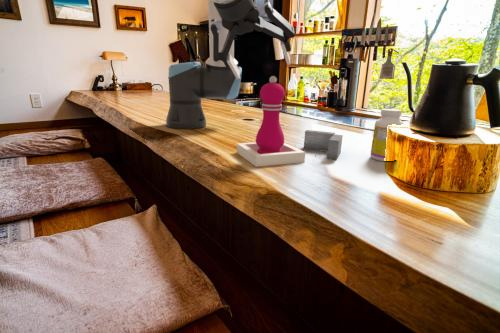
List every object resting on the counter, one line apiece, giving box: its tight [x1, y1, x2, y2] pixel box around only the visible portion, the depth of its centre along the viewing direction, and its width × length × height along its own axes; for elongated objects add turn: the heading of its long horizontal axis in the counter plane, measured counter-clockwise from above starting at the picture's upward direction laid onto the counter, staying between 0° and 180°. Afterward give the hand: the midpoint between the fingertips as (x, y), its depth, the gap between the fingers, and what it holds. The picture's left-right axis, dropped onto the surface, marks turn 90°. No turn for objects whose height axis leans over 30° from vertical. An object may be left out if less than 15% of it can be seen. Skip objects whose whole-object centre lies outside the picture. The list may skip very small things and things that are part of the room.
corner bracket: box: [303, 129, 343, 161], centre depth 83 cm, size 15×7×5 cm, turn 22°
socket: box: [236, 141, 306, 168], centre depth 77 cm, size 13×13×2 cm
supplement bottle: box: [370, 108, 404, 162], centre depth 78 cm, size 7×7×13 cm
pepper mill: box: [255, 75, 286, 154], centre depth 75 cm, size 7×7×20 cm
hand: (262, 68), depth 78 cm, fingers open, 13 cm apart
